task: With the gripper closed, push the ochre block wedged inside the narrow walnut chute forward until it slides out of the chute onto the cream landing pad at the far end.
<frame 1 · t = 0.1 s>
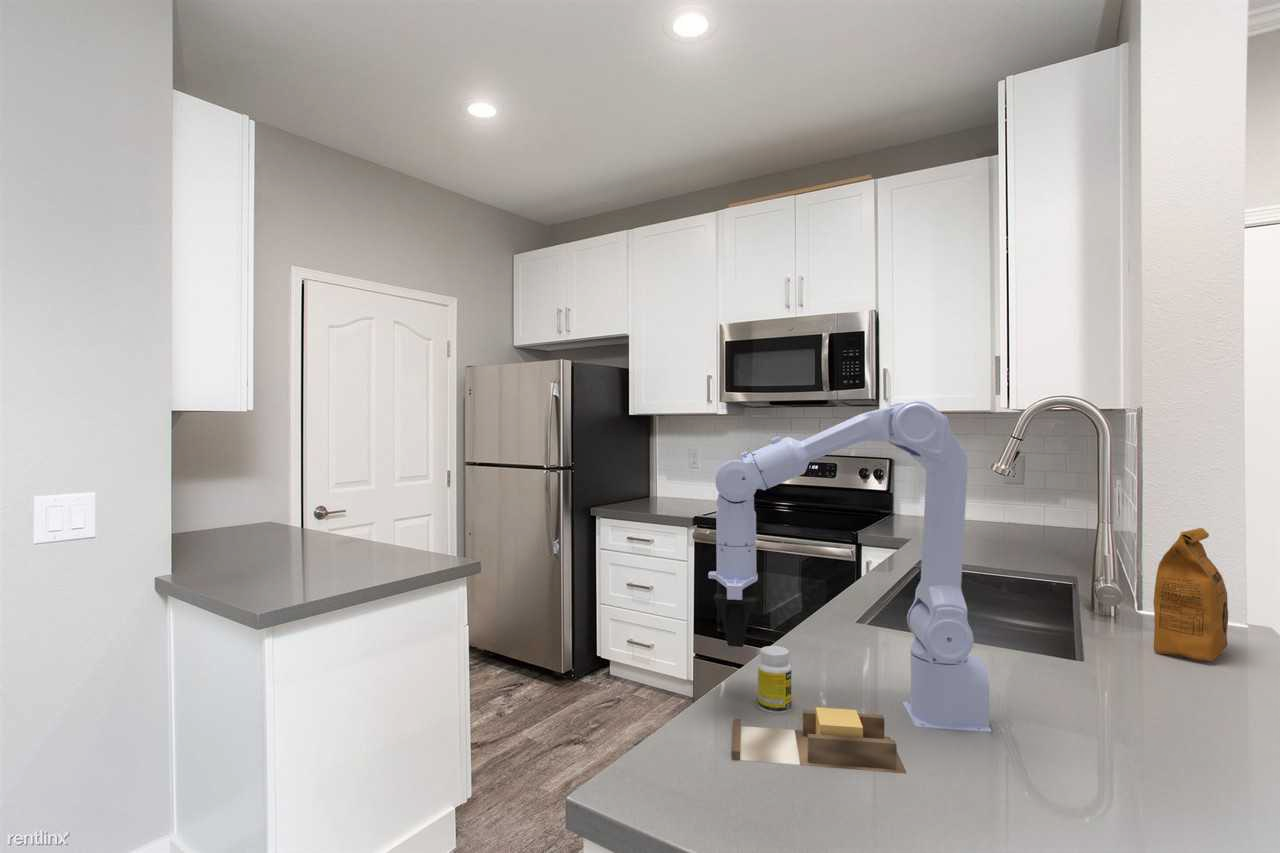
hand: (736, 637, 95), 10 cm above the countertop, tool pointing down, fingers open, 7 cm apart
supplement bottle: (774, 710, 94), on the countertop
ochre block: (838, 749, 81), touching walnut chute
walnut chute: (813, 751, 82), on the countertop
coffee package: (1191, 654, 117), on the countertop
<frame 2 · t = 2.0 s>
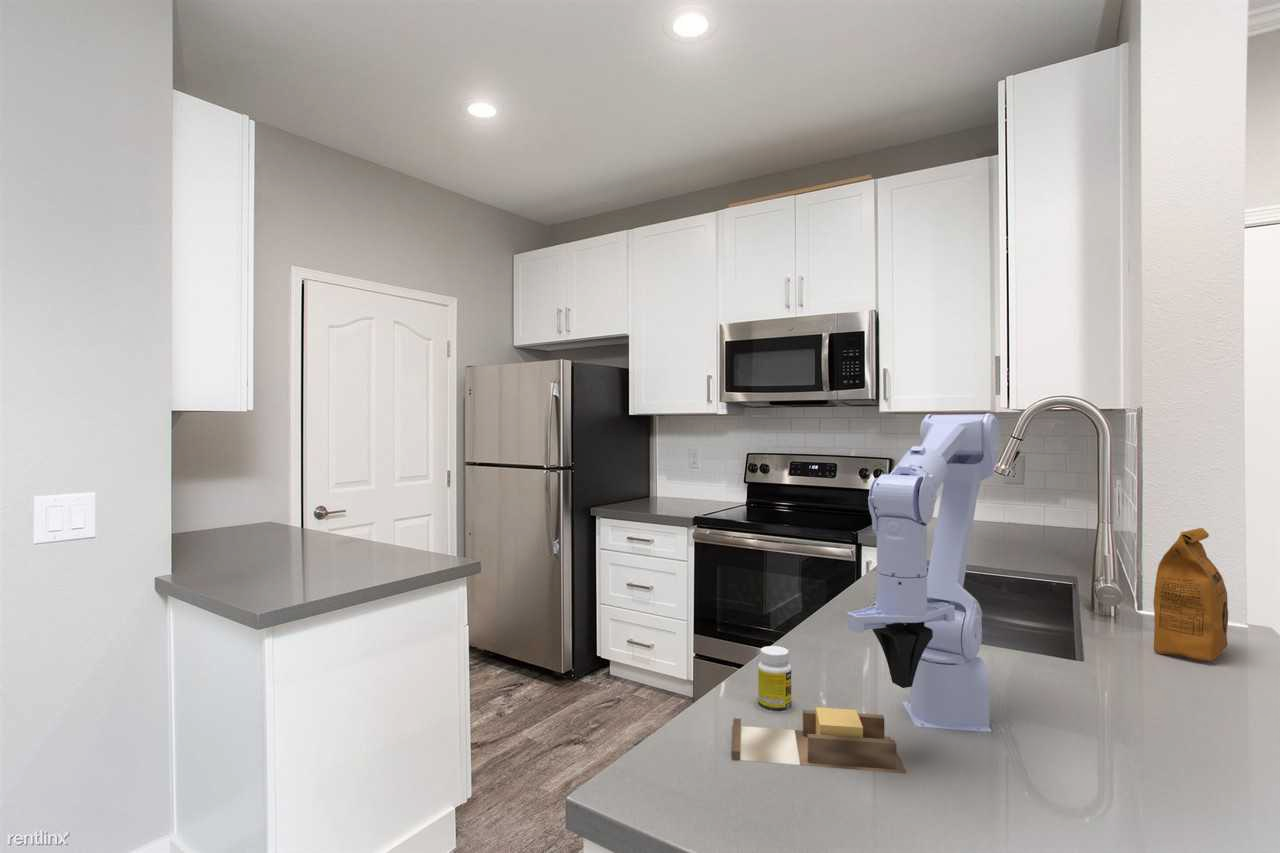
hand: (901, 684, 80), 9 cm above the countertop, tool pointing down, fingers closed
nothing on the countertop moved.
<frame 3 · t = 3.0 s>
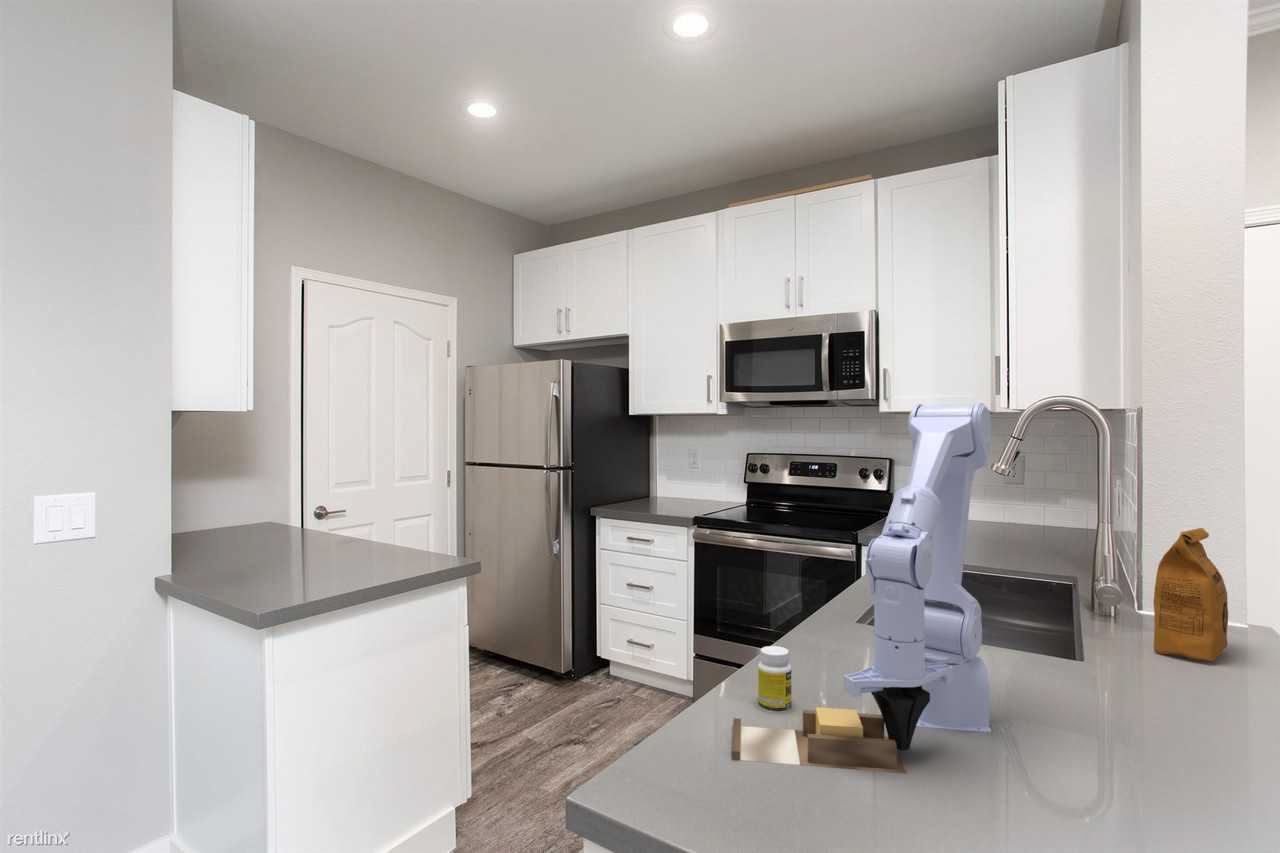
hand: (899, 746, 80), 1 cm above the countertop, tool pointing down, fingers closed
nothing on the countertop moved.
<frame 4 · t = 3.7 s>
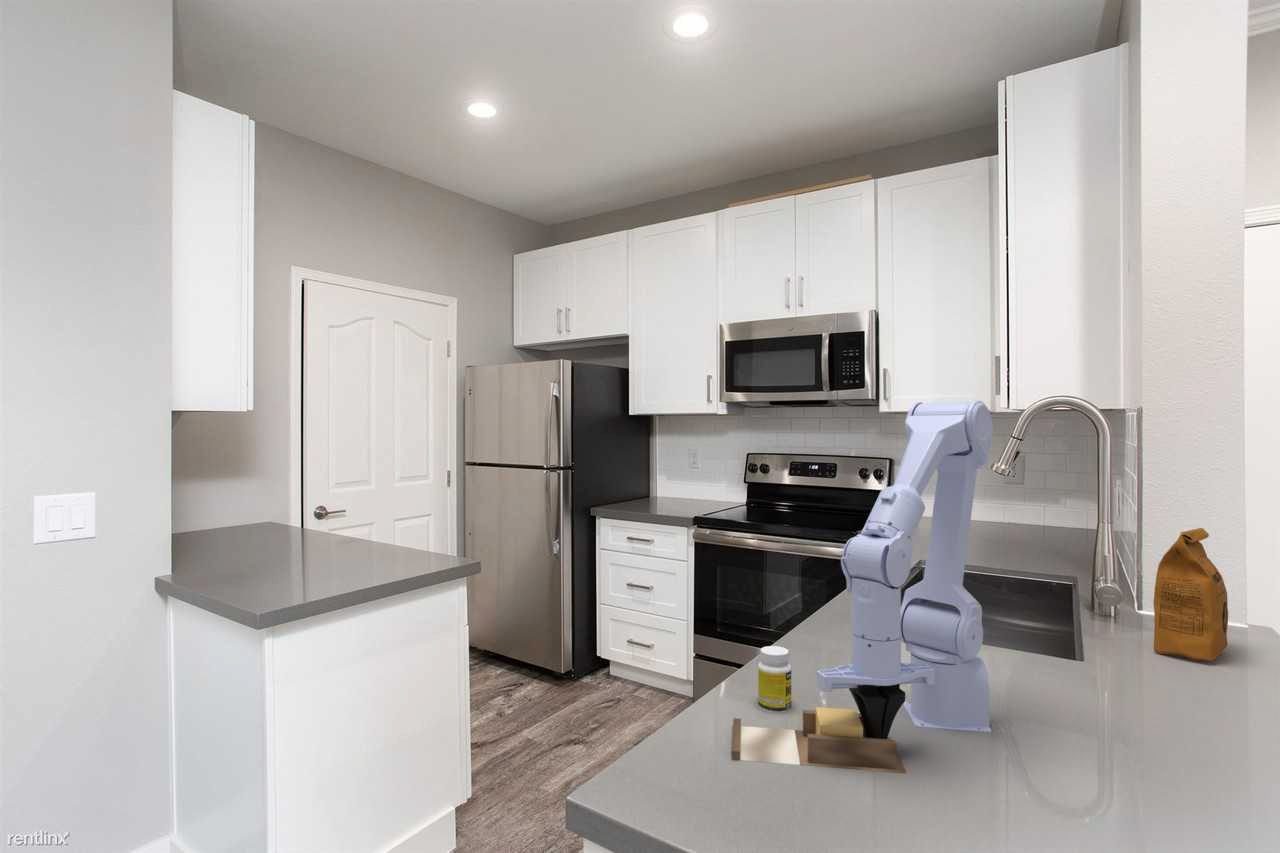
hand: (876, 744, 80), 1 cm above the countertop, tool pointing down, fingers closed
ochre block: (838, 749, 81), touching gripper, walnut chute
everything else where it was.
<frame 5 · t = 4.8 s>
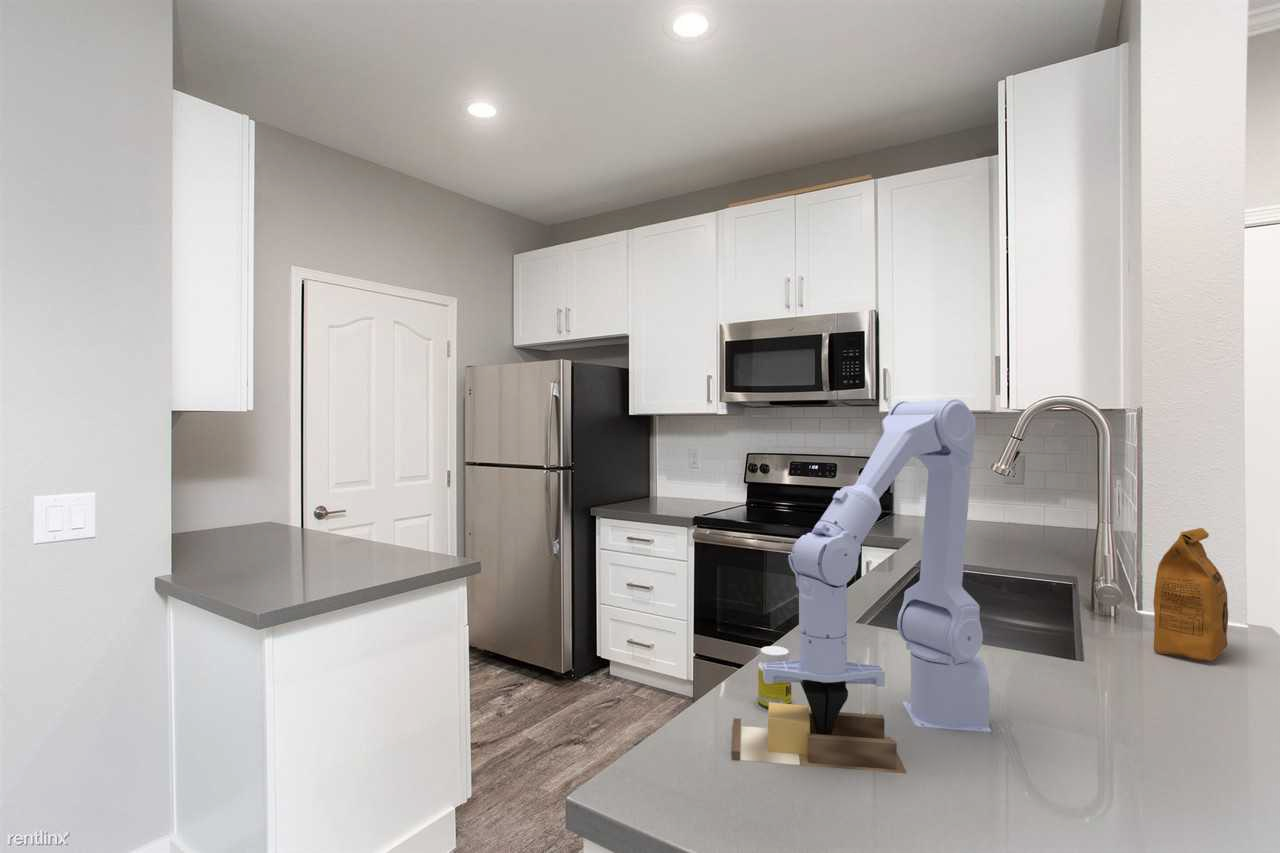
hand: (822, 740, 81), 1 cm above the countertop, tool pointing down, fingers closed
ochre block: (788, 743, 83), point 1 cm above the countertop, touching gripper, walnut chute
everything else where it was.
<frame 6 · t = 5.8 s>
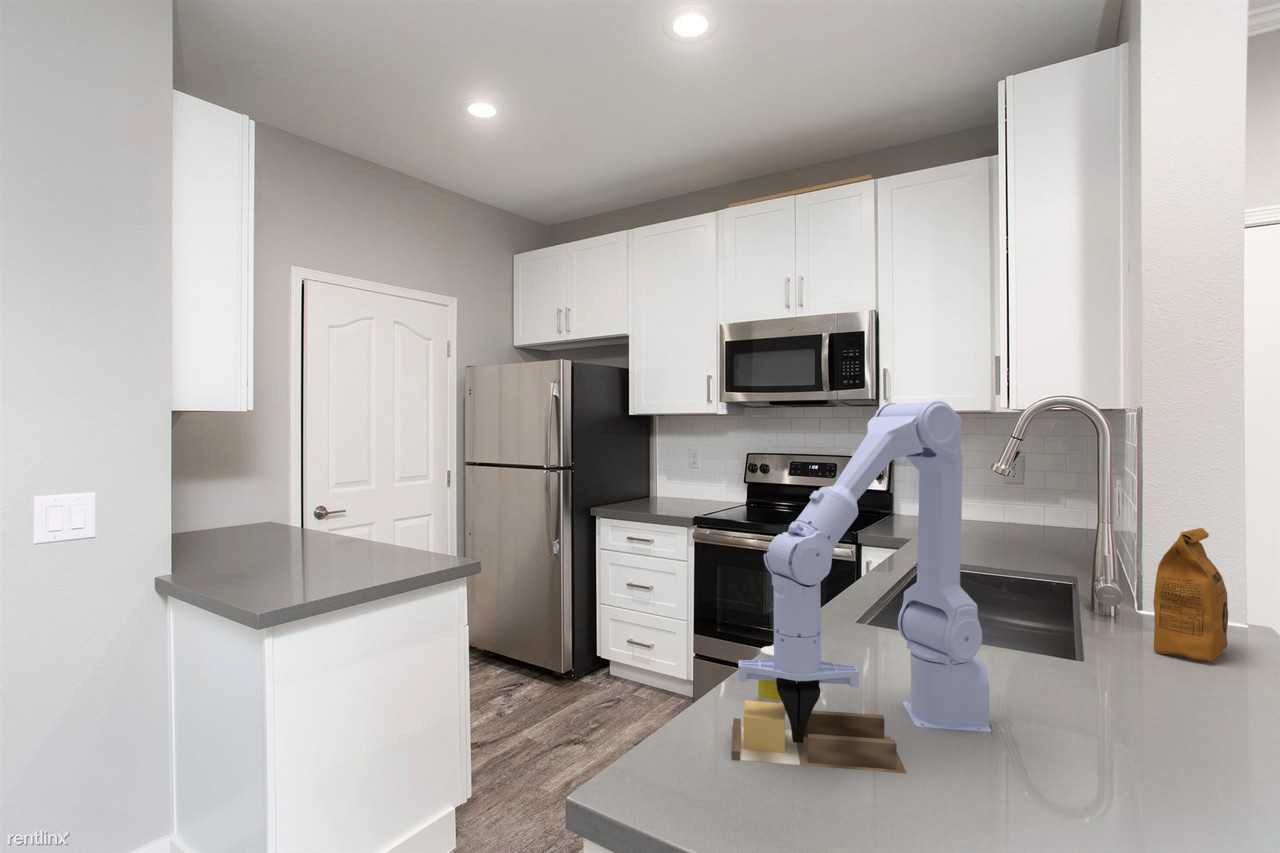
hand: (797, 739, 82), 1 cm above the countertop, tool pointing down, fingers closed
ochre block: (764, 741, 83), touching gripper, walnut chute
everything else where it was.
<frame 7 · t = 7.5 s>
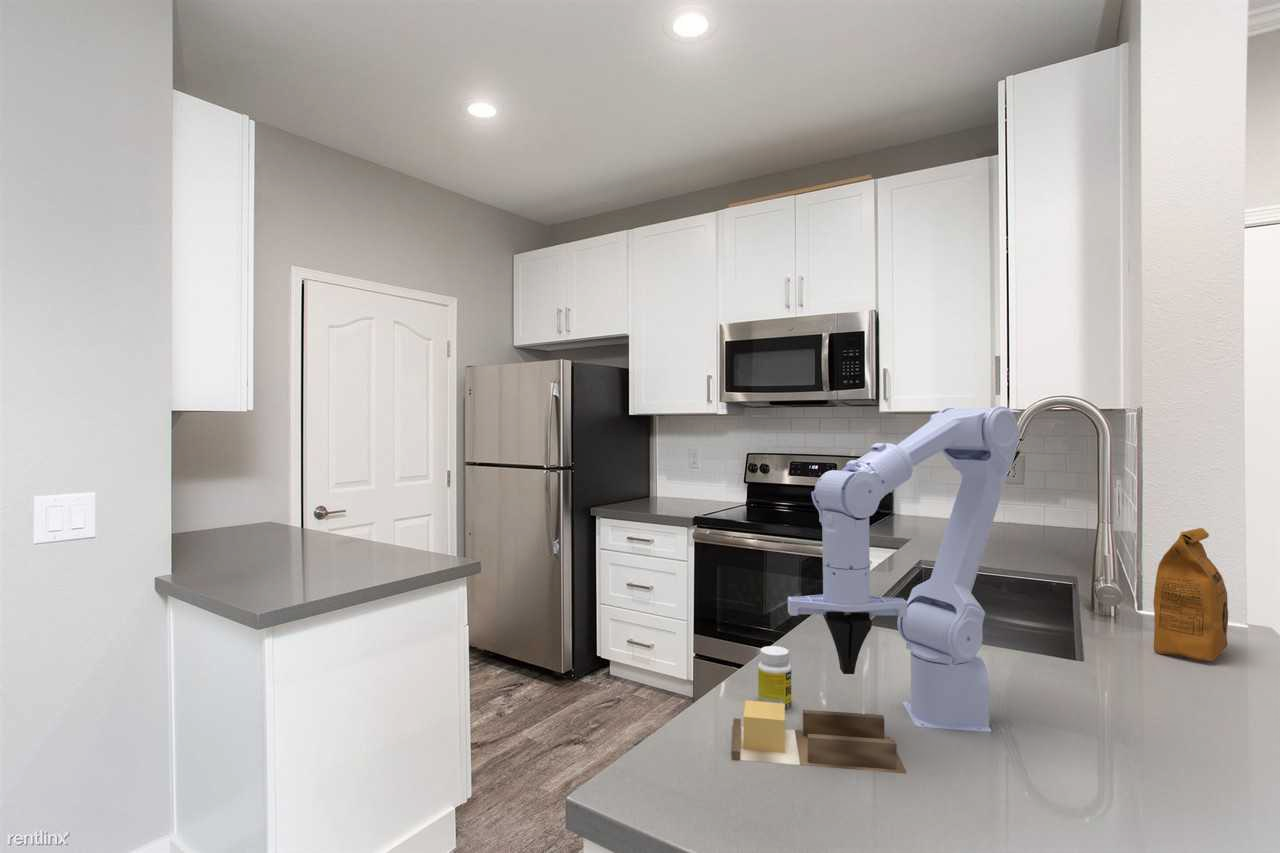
hand: (847, 671, 84), 9 cm above the countertop, tool pointing down, fingers closed
ochre block: (764, 741, 83), touching walnut chute
everything else where it was.
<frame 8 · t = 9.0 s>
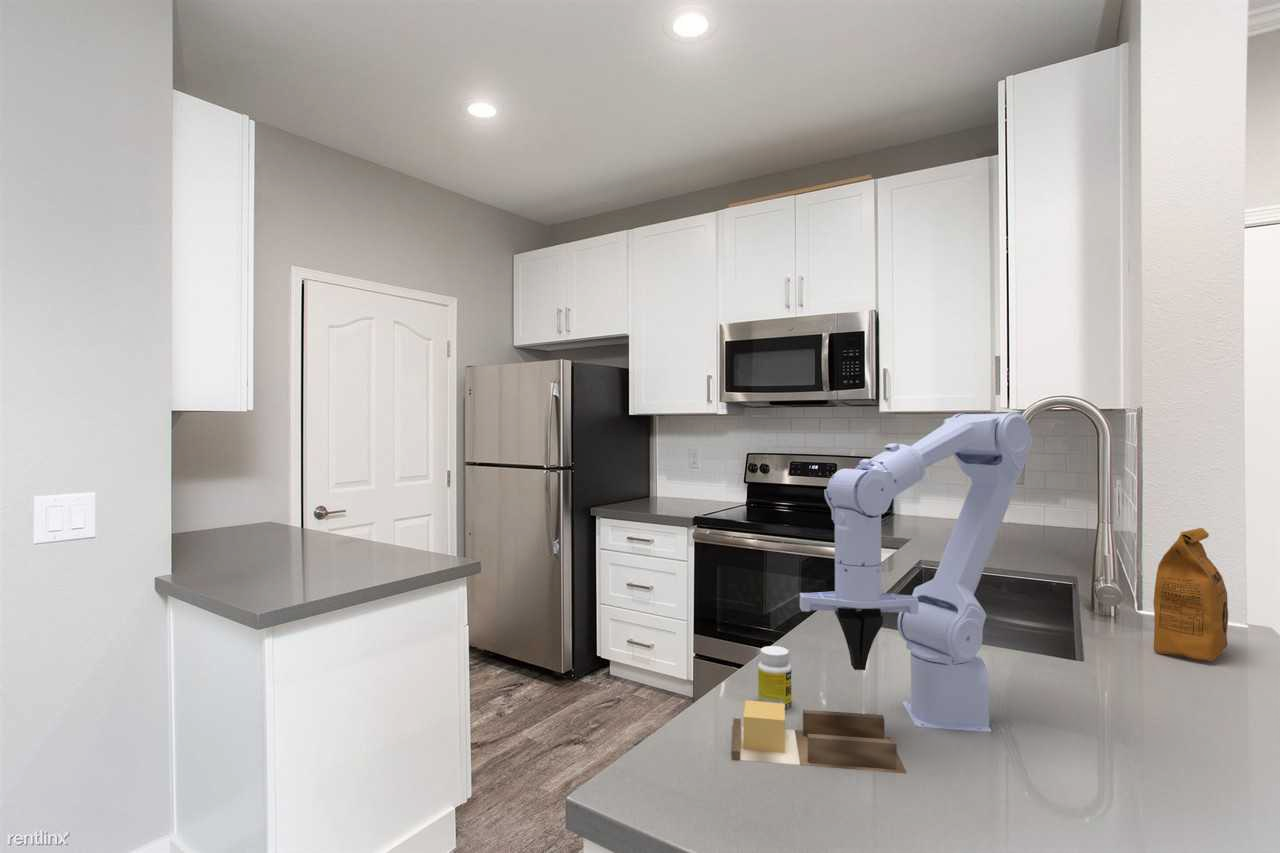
hand: (858, 667, 85), 9 cm above the countertop, tool pointing down, fingers closed
nothing on the countertop moved.
at the end: ochre block 0.7 cm from the target spot, point 0.5 cm above the countertop; ochre block tilted 0°; ochre block moved 9.0 cm from its start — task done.
